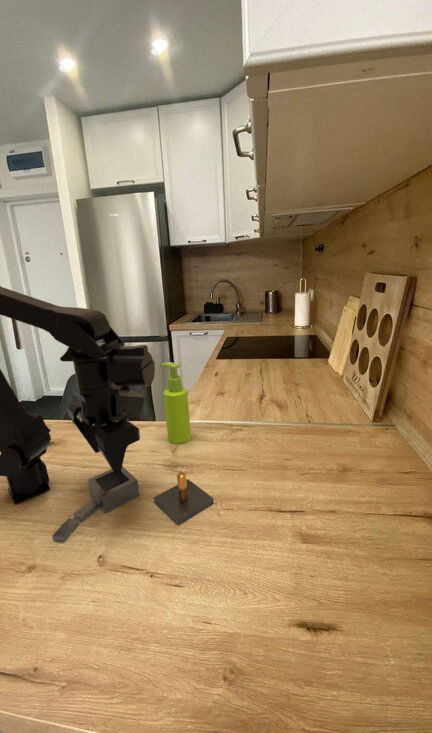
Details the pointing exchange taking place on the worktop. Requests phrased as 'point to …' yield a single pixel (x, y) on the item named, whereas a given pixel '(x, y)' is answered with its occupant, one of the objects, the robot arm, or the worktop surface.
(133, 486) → the hollow square frame
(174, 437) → the soap dispenser
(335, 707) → the worktop surface
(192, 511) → the keeper
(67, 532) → the wood sided gray block
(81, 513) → the grey topped wooden tile
